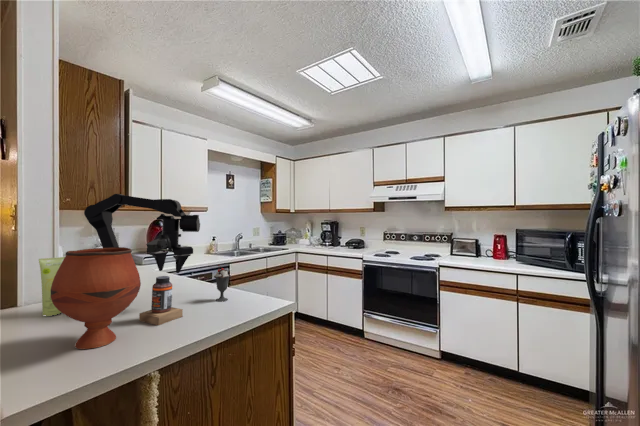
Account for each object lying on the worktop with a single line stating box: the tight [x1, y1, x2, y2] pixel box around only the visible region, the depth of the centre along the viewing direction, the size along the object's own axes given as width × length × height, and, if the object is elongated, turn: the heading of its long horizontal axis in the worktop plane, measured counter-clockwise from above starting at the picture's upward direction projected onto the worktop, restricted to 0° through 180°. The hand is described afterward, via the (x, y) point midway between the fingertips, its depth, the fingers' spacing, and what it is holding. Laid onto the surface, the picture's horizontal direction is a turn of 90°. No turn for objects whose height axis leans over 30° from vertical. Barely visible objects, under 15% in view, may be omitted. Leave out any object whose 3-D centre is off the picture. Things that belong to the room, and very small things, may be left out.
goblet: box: [51, 246, 142, 350], centre depth 76 cm, size 19×19×25 cm
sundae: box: [213, 264, 232, 303], centre depth 117 cm, size 7×7×15 cm
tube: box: [38, 256, 65, 317], centre depth 96 cm, size 6×5×20 cm
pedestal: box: [138, 306, 184, 326], centre depth 94 cm, size 9×9×3 cm
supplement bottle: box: [150, 275, 173, 313], centre depth 94 cm, size 6×6×11 cm
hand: (169, 271), depth 108 cm, fingers open, 9 cm apart
